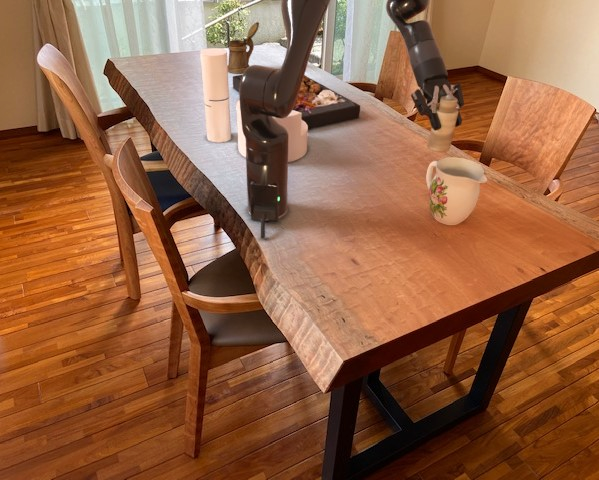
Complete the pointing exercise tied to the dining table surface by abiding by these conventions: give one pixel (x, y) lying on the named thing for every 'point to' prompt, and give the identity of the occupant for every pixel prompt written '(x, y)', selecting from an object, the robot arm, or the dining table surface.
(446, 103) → the pepper mill
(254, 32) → the wooden mug
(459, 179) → the pitcher
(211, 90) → the cylindrical container
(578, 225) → the dining table surface
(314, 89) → the food platter
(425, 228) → the dining table surface
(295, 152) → the container
